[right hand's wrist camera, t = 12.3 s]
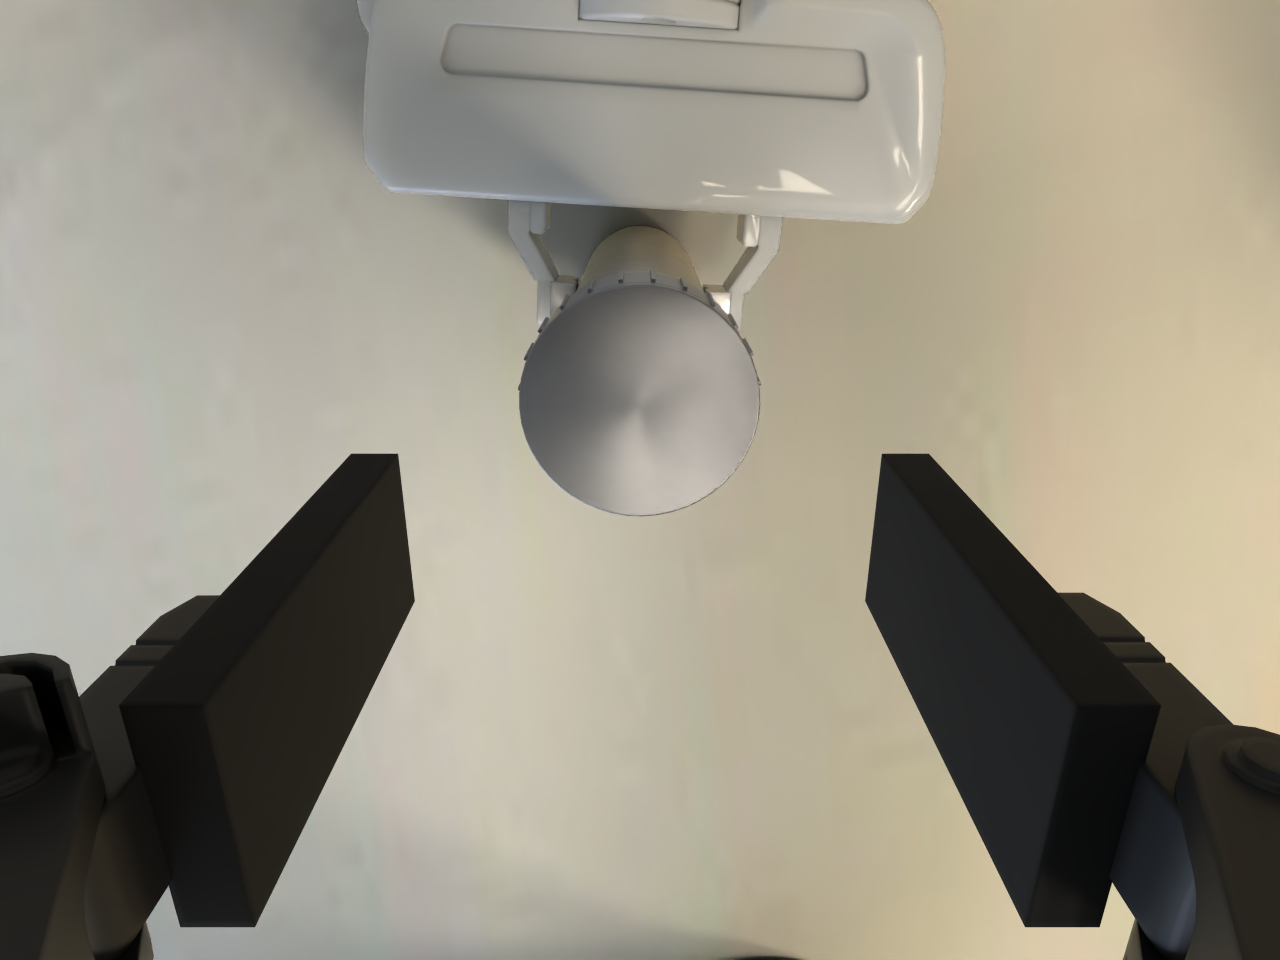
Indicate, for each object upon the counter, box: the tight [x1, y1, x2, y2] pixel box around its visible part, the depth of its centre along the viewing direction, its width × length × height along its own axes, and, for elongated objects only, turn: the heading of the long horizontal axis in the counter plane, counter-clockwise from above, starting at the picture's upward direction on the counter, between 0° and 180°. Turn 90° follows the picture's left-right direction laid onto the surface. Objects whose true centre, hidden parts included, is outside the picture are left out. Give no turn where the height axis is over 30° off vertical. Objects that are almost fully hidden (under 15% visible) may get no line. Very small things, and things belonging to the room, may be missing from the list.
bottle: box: [577, 226, 704, 292], centre depth 30 cm, size 5×5×19 cm
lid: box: [518, 270, 761, 516], centre depth 21 cm, size 6×6×2 cm
